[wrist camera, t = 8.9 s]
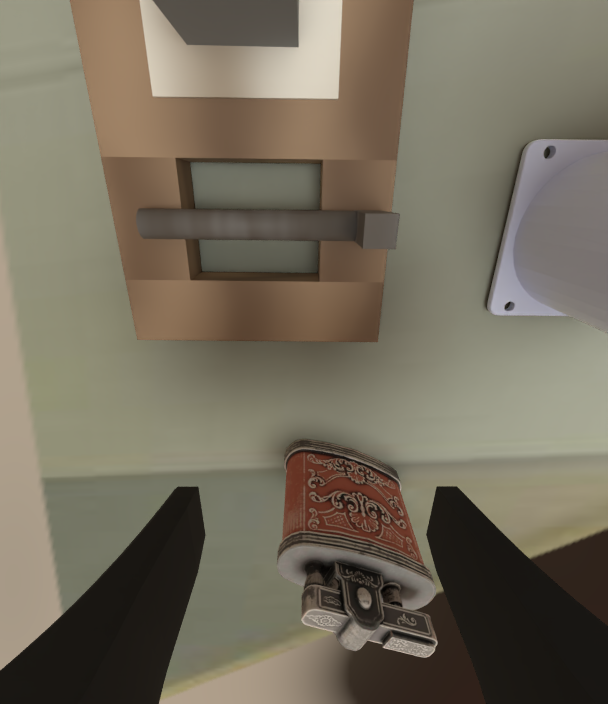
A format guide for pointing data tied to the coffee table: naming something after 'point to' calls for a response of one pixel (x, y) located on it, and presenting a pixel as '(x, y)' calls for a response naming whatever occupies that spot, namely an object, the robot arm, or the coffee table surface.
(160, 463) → the coffee table surface
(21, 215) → the coffee table surface
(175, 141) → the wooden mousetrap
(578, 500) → the coffee table surface
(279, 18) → the gray rectangular block
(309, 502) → the lighter
